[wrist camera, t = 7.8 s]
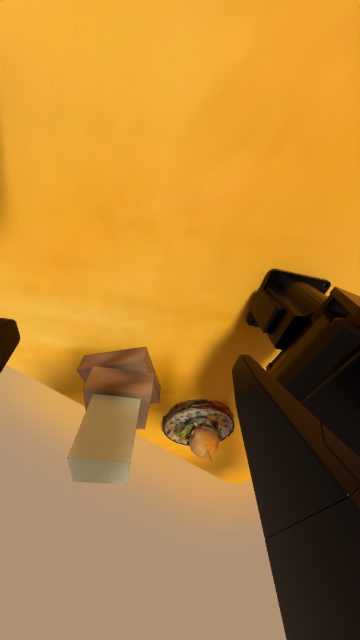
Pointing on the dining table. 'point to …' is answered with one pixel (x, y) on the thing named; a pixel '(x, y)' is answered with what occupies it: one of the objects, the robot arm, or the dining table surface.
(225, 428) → the burger
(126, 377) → the walnut slab top
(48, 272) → the dining table surface
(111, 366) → the walnut slab low
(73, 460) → the sage block
